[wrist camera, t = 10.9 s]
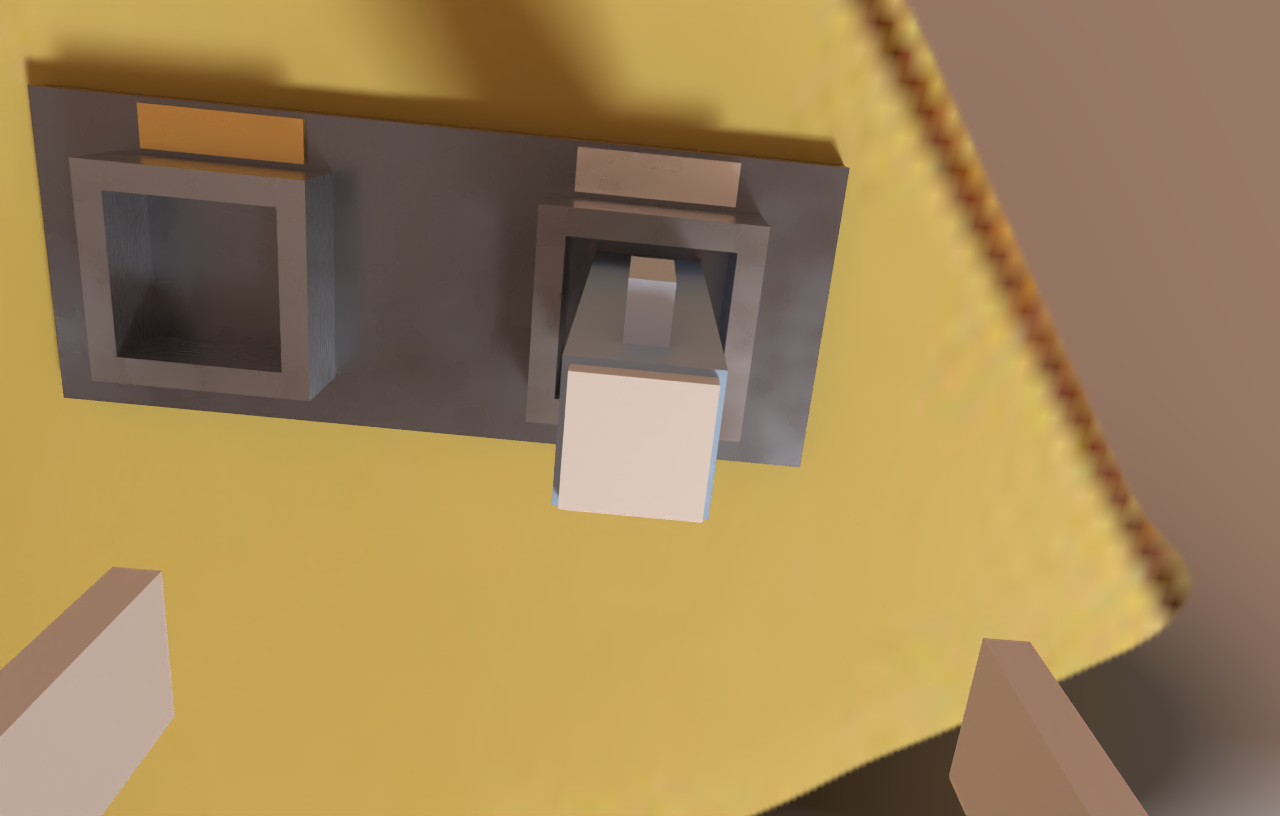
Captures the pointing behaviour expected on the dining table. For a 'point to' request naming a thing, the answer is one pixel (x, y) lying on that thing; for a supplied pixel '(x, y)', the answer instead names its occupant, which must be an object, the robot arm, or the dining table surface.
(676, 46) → the dining table surface
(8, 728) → the robot arm
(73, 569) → the dining table surface
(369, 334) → the panel
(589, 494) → the plug
